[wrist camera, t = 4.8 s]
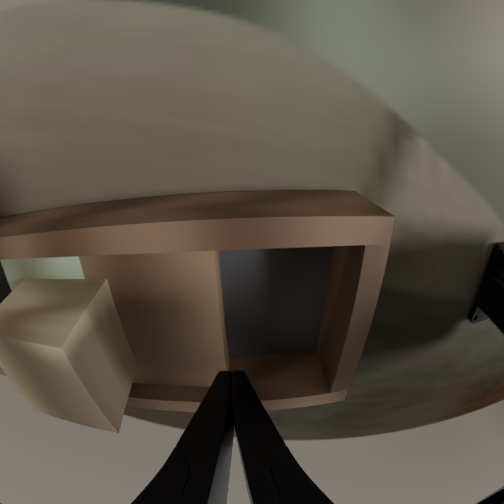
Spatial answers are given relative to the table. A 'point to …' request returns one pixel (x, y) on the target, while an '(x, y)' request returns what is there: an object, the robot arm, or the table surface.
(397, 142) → the table surface
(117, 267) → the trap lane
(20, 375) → the block
